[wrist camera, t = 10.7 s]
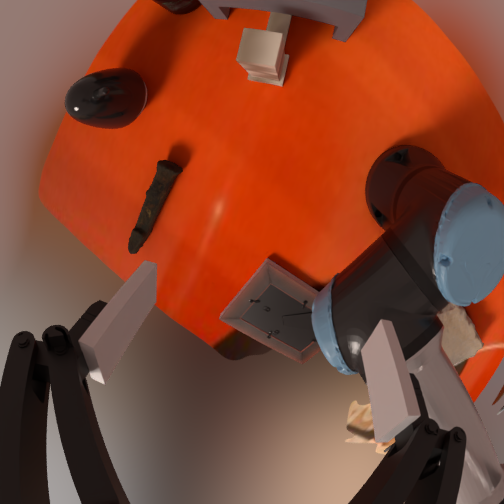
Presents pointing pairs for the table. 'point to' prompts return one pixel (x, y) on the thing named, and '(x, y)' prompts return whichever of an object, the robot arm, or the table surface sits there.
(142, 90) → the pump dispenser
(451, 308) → the flat stone slab
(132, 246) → the hand tool
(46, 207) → the table surface
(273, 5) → the grey step stool
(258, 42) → the ash-wood pusher
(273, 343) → the picture frame
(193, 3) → the supplement bottle
